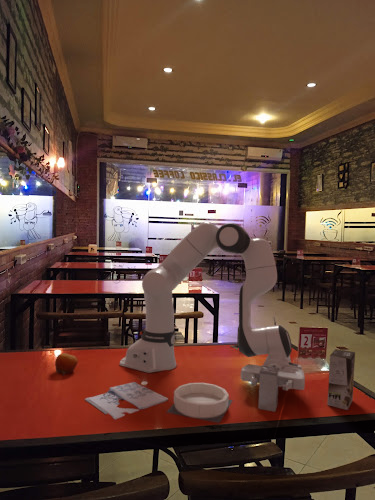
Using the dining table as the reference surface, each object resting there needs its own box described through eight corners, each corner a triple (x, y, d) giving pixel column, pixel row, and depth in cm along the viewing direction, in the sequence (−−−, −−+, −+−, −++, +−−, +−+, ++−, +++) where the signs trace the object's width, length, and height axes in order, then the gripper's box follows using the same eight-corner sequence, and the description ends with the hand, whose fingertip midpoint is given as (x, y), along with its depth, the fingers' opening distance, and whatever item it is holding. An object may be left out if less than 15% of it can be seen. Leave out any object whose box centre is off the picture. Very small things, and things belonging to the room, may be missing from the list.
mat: (166, 414, 113) (166, 412, 113) (185, 393, 128) (185, 391, 128) (219, 425, 108) (219, 423, 108) (232, 402, 123) (232, 400, 123)
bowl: (166, 412, 113) (166, 398, 113) (185, 391, 128) (185, 379, 128) (219, 423, 108) (219, 408, 107) (232, 400, 123) (233, 387, 122)
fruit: (46, 371, 140) (54, 349, 144) (58, 376, 146) (66, 355, 150) (64, 375, 137) (72, 352, 141) (76, 379, 143) (83, 358, 147)
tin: (257, 410, 117) (259, 370, 117) (260, 403, 122) (262, 365, 122) (275, 413, 116) (277, 373, 115) (277, 406, 120) (279, 367, 120)
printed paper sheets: (169, 405, 121) (170, 398, 120) (112, 424, 107) (112, 416, 107) (135, 385, 135) (135, 379, 135) (81, 400, 121) (81, 394, 121)
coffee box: (348, 410, 119) (351, 358, 119) (326, 405, 123) (329, 354, 122) (353, 400, 127) (356, 351, 126) (332, 395, 131) (335, 348, 130)
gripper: (245, 357, 136) (236, 370, 123) (306, 366, 129) (304, 380, 116) (244, 375, 136) (235, 389, 123) (305, 384, 129) (303, 401, 116)
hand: (269, 385), depth 119 cm, fingers open, 8 cm apart
